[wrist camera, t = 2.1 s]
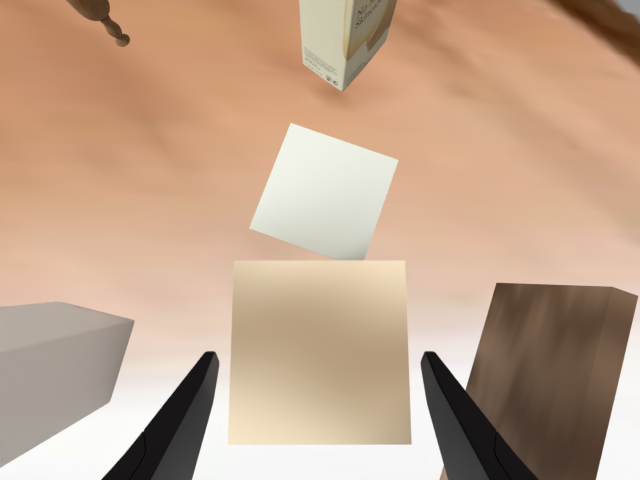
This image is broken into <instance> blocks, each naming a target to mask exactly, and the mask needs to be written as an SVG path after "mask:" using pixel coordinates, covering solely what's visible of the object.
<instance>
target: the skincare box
mask: <svg viewBox="0 0 640 480" xmlns="http://www.w3.org/2000/svg"><path fill="white" fill-rule="evenodd" d="M396 3H397V0H299V8H300V25H301V41H302V58H303V64H304V65H305V66H307V67H308V68H309V69H311V70H312V71H313V72H315V73H316V74H317V75H319V76H320V77H321V78H323V79H324V80H325V81H327V82H328V83H330V84H331V85H333V86H334V87H336V88H337V89H339V90H340V91H344V90H345V89H346V88H347V87H348V86H349V85H350V84H351V82H352V81H353V80H354V79H355V78H356V77H357V76H358V75H359V73H360V72H361V71H362V70H363V69H364V68H365V66H366V65H367V64H368V63H369V61H370V60H371V59H372V58H373V56H374V55H375V54H376V53H377V51H378V50H379V49H380V48H381V46H382V45H383V44H384V42H385V41H386V39H387V35H388V32H389V28H390V24H391V21H392V17H393V14H394V10H395V6H396Z"/></svg>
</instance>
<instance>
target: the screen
mask: <svg viewBox="0 0 640 480" xmlns="http://www.w3.org/2000/svg"><path fill="white" fill-rule="evenodd" d="M637 300H638V295H635V294H632V293H629V292H626V291H623V290H621V289H618V288H615V287H608V286H579V285H550V284H522V283H496V286H495V289H494V293H493V296H492V300H491V303H490V307H489V310H488V314H487V317H486V321H485V324H484V327H483V331H482V334H481V338H480V341H479V345H478V348H477V352H476V355H475V359H474V362H473V365H472V369H471V372H470V376H469V379H468V383H467V386H466V390H465V391H466V392H467V393H468V394H469V396H470V397H471V398H472V399H473V401H474V402H475V403H476V405H477V406H478V407H479V408H480V410H481V411H482V412H483V413H484V415H485V416H486V417H487V419H488V420H489V421H490V422H491V424H492V425H493V426H494V427H495V429H496V431H498V432H499V434H500V435H501V436H502V438H503V439H504V440H505V441H506V443H507V444H508V445H509V446H510V447H511V449H512V450H513V451H514V452H515V454H516V455H517V456H518V457H519V458H520V459H521V460H522V461H523V463H524V464H525V465H526V466H527V467H528V468H529V469H530V470H531V471H532V473H533V474H534V475H535V476H536V477H537V478H538V479H539V480H596V477H597V473H598V469H599V464H600V460H601V456H602V451H603V447H604V443H605V438H606V434H607V430H608V425H609V421H610V417H611V412H612V408H613V404H614V400H615V395H616V391H617V387H618V382H619V378H620V374H621V369H622V365H623V361H624V356H625V352H626V348H627V343H628V339H629V335H630V330H631V326H632V322H633V318H634V313H635V309H636V305H637ZM440 480H448V478H447V475H446V471H445V467H444V466H443V469H442V473H441V476H440Z"/></svg>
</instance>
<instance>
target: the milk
mask: <svg viewBox="0 0 640 480" xmlns="http://www.w3.org/2000/svg"><path fill="white" fill-rule="evenodd" d="M134 322H135V321H134V320H132V319H128V318H124V317H120V316H116V315H112V314H108V313H104V312H100V311H96V310H92V309H88V308H84V307H80V306H76V305H72V304H68V303H64V302H60V301H58V302H47V303H36V304H26V305H15V306H5V307H0V468H1V467H3V466H4V465H6V464H8V463H9V462H11V461H13V460H14V459H16V458H18V457H19V456H21V455H23V454H24V453H26V452H28V451H29V450H31V449H33V448H34V447H36V446H38V445H39V444H41V443H43V442H44V441H46V440H48V439H49V438H51V437H53V436H54V435H56V434H58V433H59V432H61V431H63V430H64V429H66V428H68V427H70V426H71V425H73V424H75V423H76V422H78V421H80V420H81V419H83V418H85V417H86V416H88V415H90V414H91V413H93V412H95V411H96V410H98V409H100V408H101V407H103V406H105V405H106V404H108V403H109V402H110V400H111V397H112V394H113V391H114V387H115V384H116V381H117V378H118V374H119V371H120V368H121V365H122V361H123V358H124V355H125V352H126V348H127V345H128V342H129V339H130V335H131V332H132V329H133V326H134Z"/></svg>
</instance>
